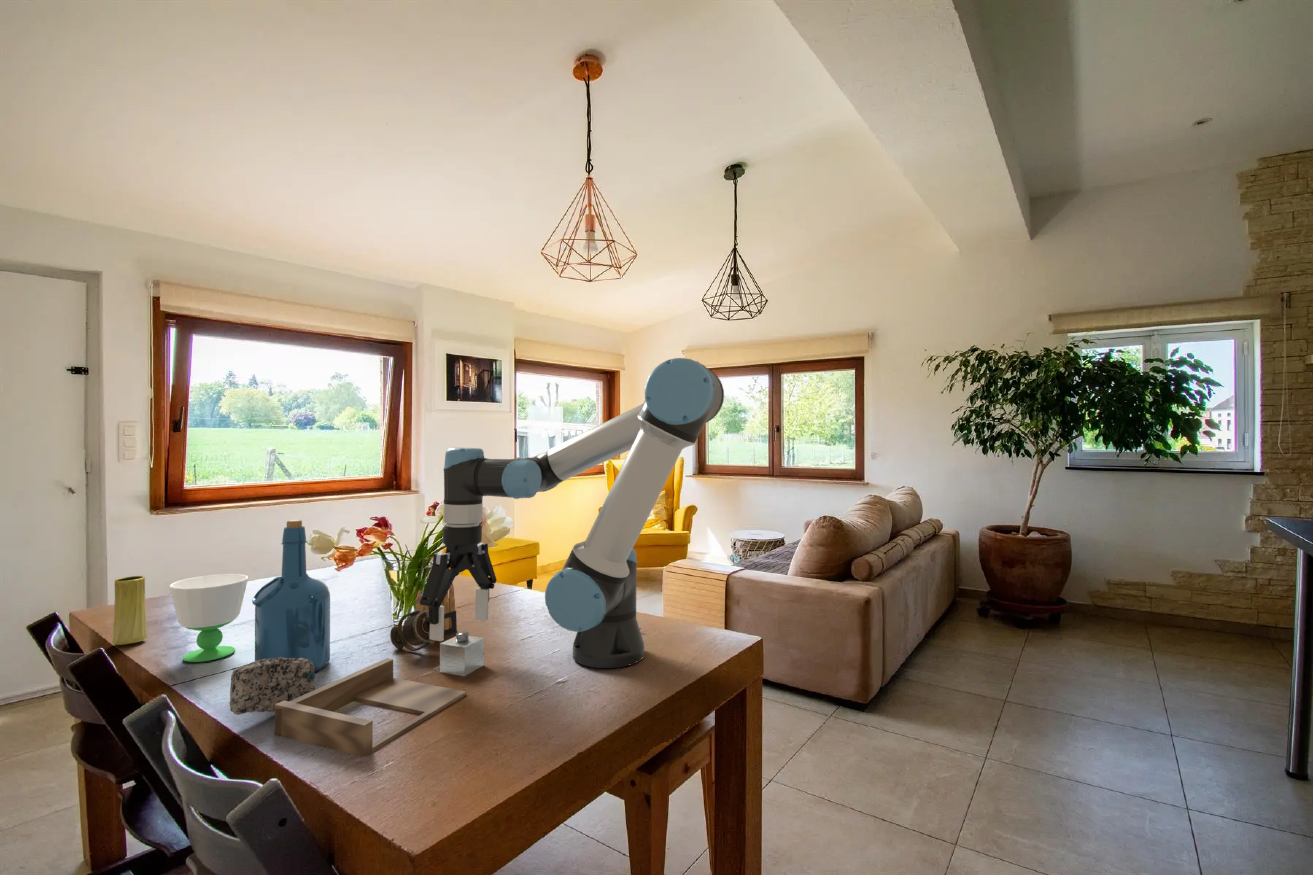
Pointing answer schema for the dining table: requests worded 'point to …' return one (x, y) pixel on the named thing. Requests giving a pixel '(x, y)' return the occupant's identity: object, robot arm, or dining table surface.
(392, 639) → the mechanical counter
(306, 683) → the rock
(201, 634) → the cup
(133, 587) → the vase
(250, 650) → the dining table surface
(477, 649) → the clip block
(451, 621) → the ammunition clip
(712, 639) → the dining table surface
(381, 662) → the wooden shallow box
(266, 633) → the wine bottle
